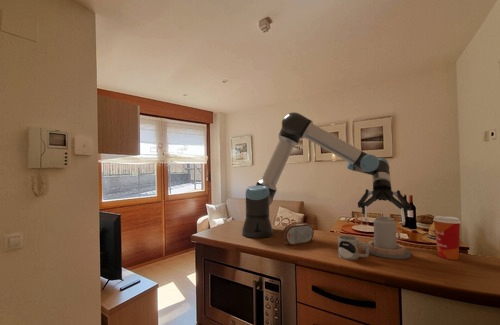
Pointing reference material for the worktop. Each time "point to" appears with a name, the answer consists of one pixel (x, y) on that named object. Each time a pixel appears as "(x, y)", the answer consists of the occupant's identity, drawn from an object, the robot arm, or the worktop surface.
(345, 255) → the mug
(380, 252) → the coaster
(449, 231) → the paper cup
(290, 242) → the tin
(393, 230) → the can
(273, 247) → the worktop surface
